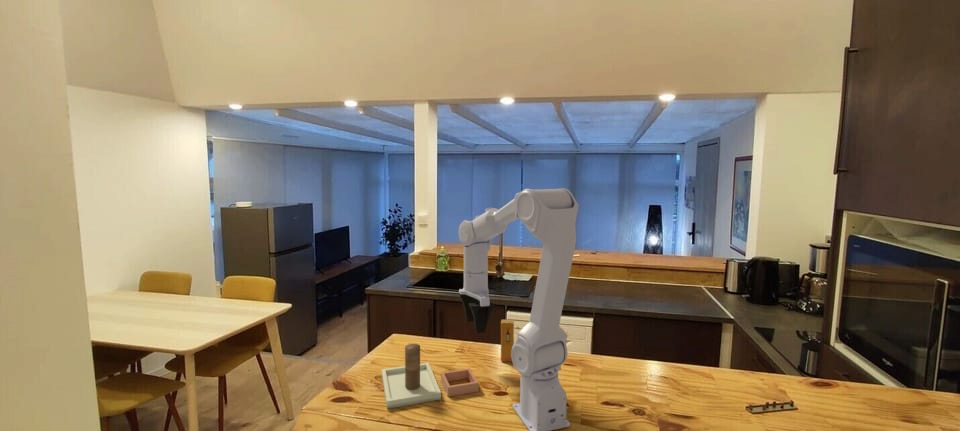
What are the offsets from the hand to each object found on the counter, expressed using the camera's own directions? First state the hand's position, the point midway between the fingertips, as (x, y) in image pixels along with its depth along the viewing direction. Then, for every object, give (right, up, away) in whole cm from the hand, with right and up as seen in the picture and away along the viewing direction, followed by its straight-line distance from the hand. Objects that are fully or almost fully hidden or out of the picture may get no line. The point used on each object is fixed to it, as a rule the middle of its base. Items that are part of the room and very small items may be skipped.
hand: (475, 326), depth 97 cm
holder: (-4, -11, -7) cm, 14 cm away
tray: (-14, -11, -8) cm, 20 cm away
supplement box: (+8, -10, +6) cm, 14 cm away
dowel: (-14, -11, -9) cm, 19 cm away
